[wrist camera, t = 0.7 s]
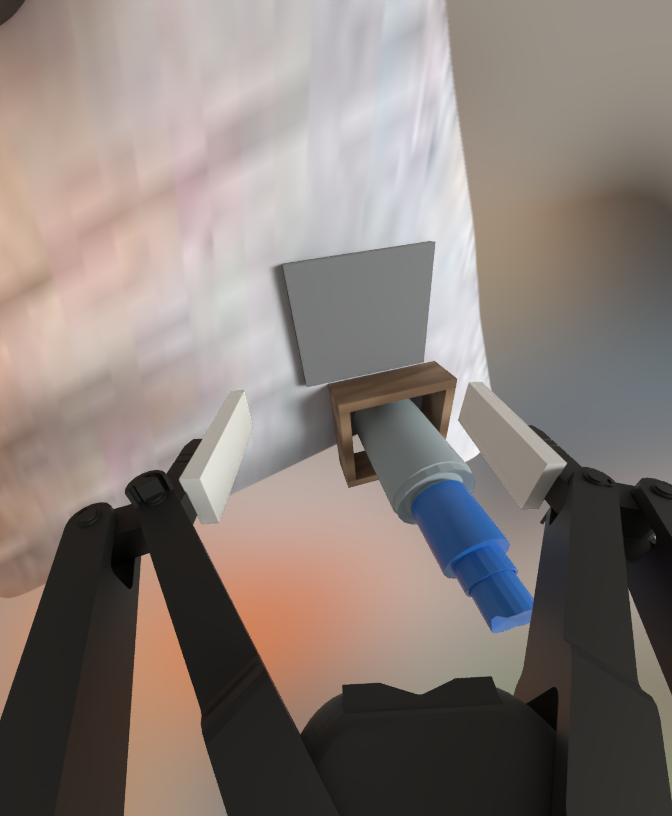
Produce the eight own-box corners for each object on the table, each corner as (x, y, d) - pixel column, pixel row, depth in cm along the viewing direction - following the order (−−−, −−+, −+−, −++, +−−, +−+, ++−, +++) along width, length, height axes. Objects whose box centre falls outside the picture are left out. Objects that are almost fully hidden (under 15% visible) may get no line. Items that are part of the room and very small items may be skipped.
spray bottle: (423, 400, 39) (599, 590, 19) (389, 445, 42) (506, 643, 22) (375, 380, 35) (533, 593, 15) (342, 431, 38) (433, 658, 19)
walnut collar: (328, 383, 33) (338, 405, 29) (434, 361, 35) (457, 378, 31) (339, 462, 42) (348, 487, 38) (424, 440, 44) (441, 462, 40)
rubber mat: (281, 263, 25) (282, 265, 24) (430, 241, 27) (435, 241, 26) (305, 383, 33) (306, 387, 32) (419, 358, 35) (423, 362, 34)
